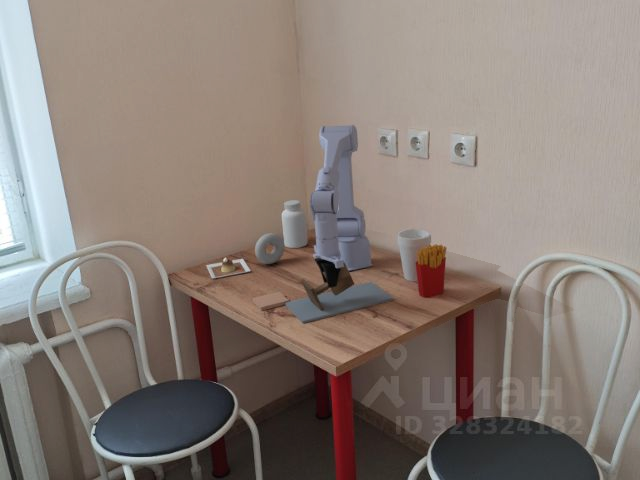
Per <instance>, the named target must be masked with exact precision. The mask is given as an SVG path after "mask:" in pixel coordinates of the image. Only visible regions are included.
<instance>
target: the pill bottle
mask: <svg viewBox="0 0 640 480" xmlns="http://www.w3.org/2000/svg"><path fill="white" fill-rule="evenodd" d="M283 205H284V206H283V207H284V210H283V211H282V212H281V223H282V233H283V242H284V247H285V248H289V249H299V248H303V247H305V246H307V245H308V233H307V231H308V230H307V221H306V219H307V218H306V212H305V210H304V209H303V208H301V202H300V200H297V199H296V200H295V199H293V200H292V199H291V200H287V201H285V202H284V203H283Z"/></svg>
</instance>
